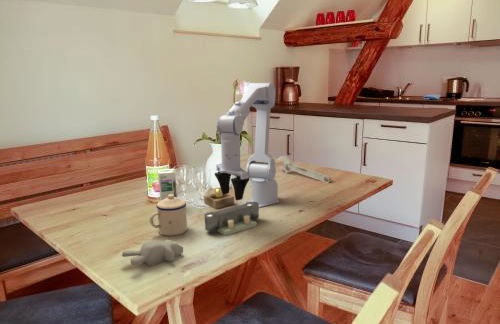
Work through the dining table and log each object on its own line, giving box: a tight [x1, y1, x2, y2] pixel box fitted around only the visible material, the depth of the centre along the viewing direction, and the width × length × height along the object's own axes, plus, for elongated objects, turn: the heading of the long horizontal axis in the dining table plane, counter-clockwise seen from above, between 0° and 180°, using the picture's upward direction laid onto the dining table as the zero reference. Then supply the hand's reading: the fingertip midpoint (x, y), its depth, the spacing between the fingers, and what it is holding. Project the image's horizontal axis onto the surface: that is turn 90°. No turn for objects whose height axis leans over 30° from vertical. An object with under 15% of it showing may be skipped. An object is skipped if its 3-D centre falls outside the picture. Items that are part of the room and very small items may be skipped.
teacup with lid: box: [149, 194, 188, 236], centre depth 123 cm, size 12×9×12 cm
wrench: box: [277, 155, 332, 184], centre depth 183 cm, size 8×2×30 cm
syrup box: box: [157, 168, 178, 201], centre depth 143 cm, size 6×6×14 cm
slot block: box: [203, 193, 235, 210], centre depth 149 cm, size 8×8×3 cm
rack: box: [217, 215, 258, 236], centre depth 128 cm, size 12×9×4 cm
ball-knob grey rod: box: [204, 201, 260, 232], centre depth 127 cm, size 20×4×5 cm, turn 126°
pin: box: [214, 187, 223, 199], centre depth 148 cm, size 3×3×6 cm
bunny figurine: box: [121, 239, 184, 267], centre depth 105 cm, size 10×5×15 cm
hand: (232, 196), depth 126 cm, fingers open, 7 cm apart
